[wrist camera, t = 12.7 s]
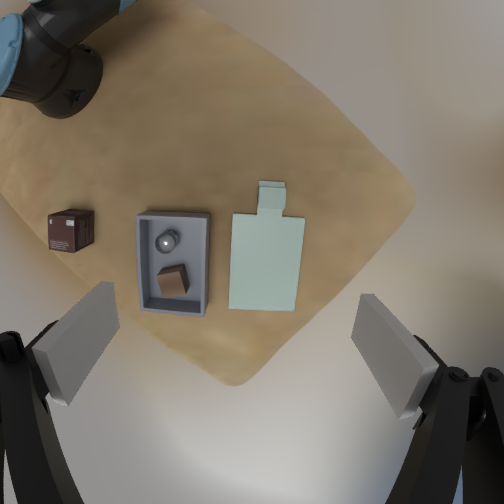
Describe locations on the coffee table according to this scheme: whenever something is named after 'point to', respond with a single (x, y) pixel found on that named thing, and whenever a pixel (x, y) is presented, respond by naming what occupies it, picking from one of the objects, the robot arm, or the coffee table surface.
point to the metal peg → (167, 241)
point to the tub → (173, 260)
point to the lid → (266, 254)
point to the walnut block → (173, 281)
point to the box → (70, 230)
